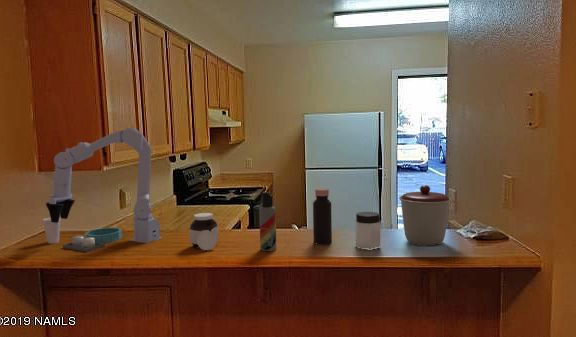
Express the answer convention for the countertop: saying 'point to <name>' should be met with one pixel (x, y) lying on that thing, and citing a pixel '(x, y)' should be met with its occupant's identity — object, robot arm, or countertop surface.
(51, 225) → the smoothie
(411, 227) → the canister
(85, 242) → the pale stone
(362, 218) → the jar
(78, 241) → the white pebble
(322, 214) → the vinegar
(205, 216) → the spread jar
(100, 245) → the parts tray
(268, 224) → the lotion bottle
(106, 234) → the bowl
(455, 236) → the countertop surface
